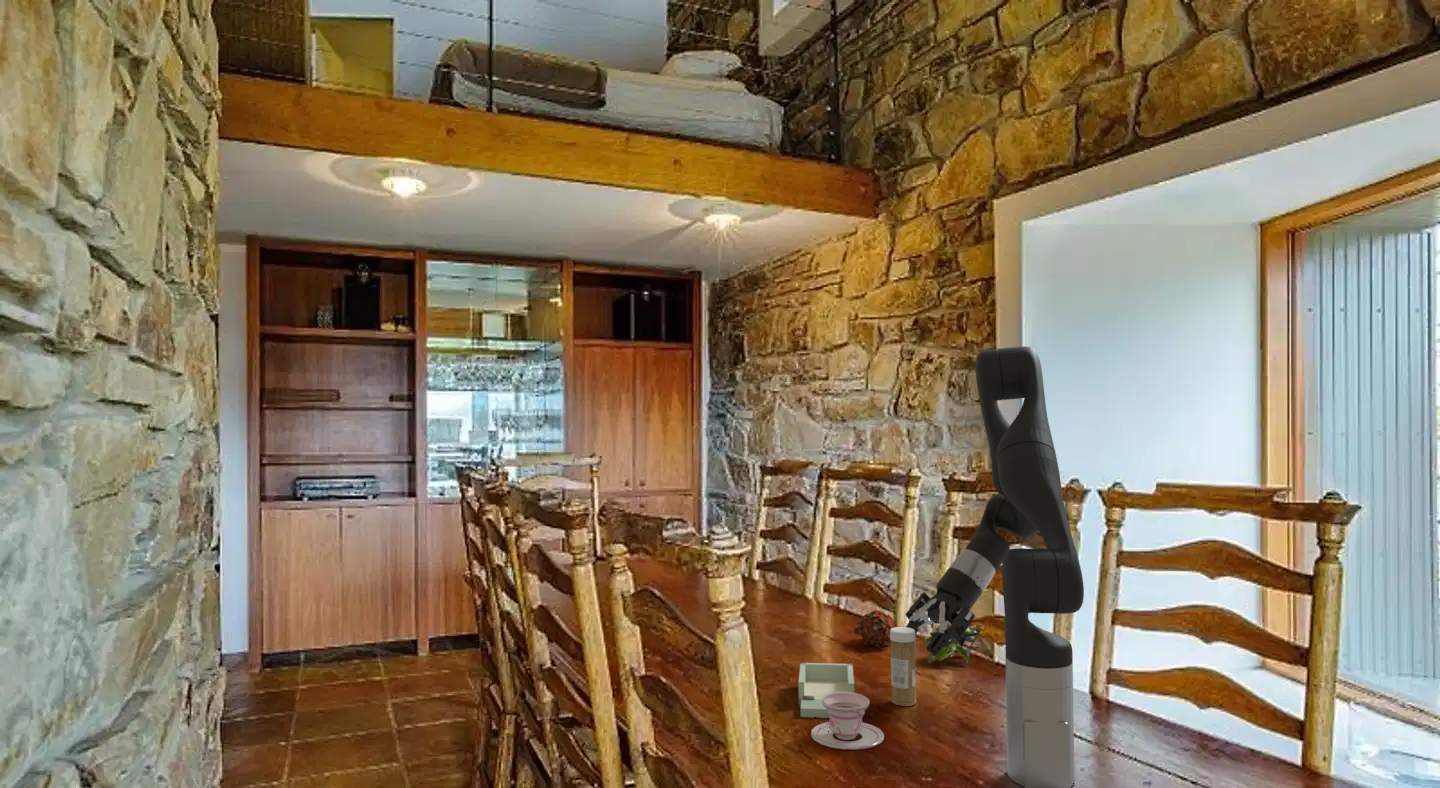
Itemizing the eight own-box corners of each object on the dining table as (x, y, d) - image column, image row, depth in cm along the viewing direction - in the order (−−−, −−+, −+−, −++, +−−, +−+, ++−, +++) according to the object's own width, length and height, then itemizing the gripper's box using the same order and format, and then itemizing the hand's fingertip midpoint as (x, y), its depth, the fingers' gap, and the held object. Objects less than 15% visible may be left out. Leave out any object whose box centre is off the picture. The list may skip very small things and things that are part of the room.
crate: (855, 718, 152) (855, 692, 152) (797, 716, 153) (797, 691, 153) (852, 687, 169) (852, 664, 169) (800, 685, 170) (800, 662, 170)
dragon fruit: (883, 660, 192) (865, 653, 204) (911, 635, 194) (892, 629, 206) (860, 629, 192) (843, 624, 204) (888, 604, 194) (869, 600, 206)
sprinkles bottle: (921, 703, 159) (920, 629, 160) (903, 708, 157) (902, 633, 157) (903, 697, 163) (902, 624, 163) (885, 701, 161) (884, 628, 161)
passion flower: (948, 681, 189) (968, 631, 193) (980, 686, 179) (1000, 633, 184) (908, 656, 187) (929, 605, 191) (938, 659, 177) (960, 606, 181)
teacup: (798, 729, 148) (798, 693, 148) (861, 720, 152) (860, 684, 152) (831, 756, 137) (831, 716, 137) (898, 744, 141) (897, 706, 141)
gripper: (931, 560, 171) (882, 625, 167) (979, 573, 158) (927, 643, 154) (954, 585, 173) (906, 649, 169) (1003, 599, 160) (952, 670, 156)
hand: (916, 646), depth 161 cm, fingers open, 8 cm apart
